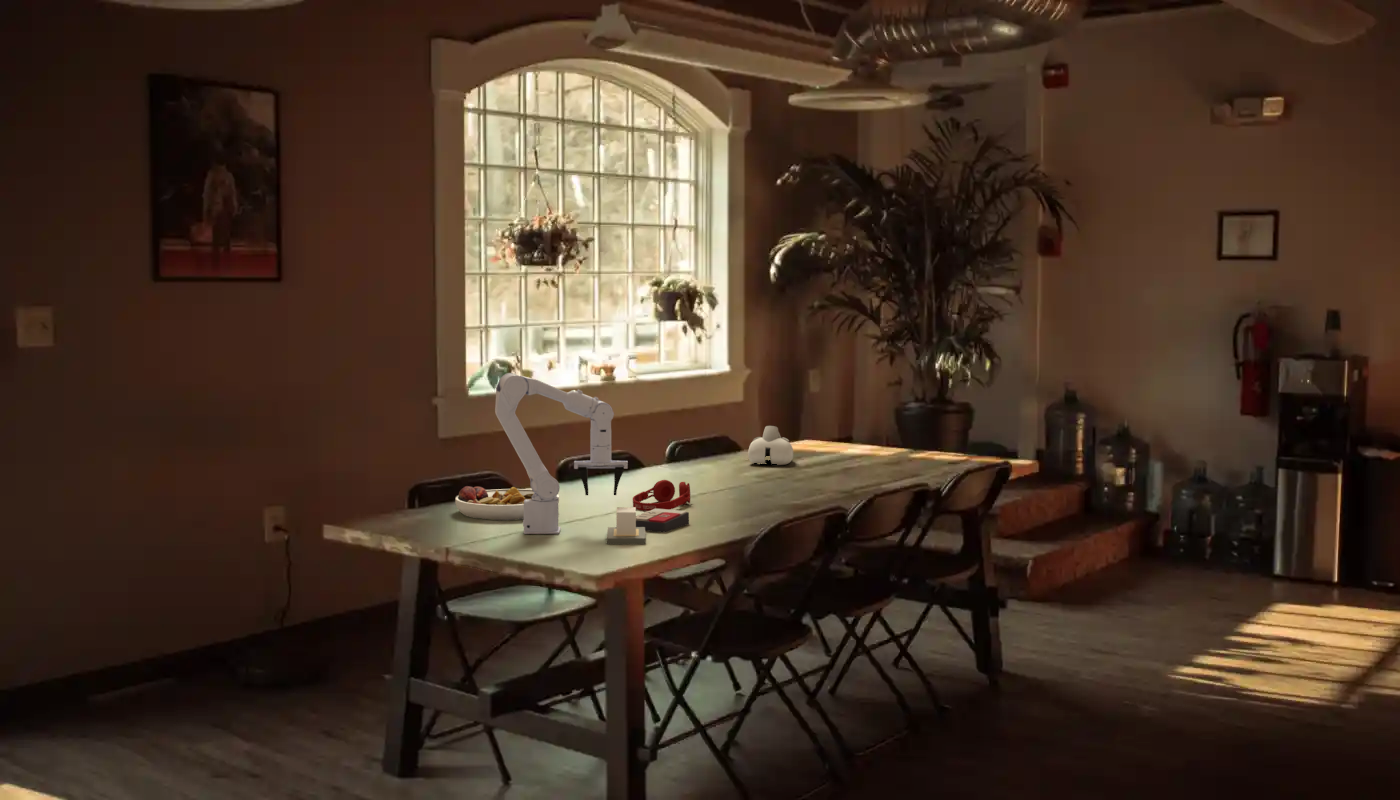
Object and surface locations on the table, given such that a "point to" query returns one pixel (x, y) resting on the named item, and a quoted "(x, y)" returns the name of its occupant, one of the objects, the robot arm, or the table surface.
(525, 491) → the bowl
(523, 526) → the robot arm
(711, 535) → the table surface
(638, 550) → the table surface
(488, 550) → the table surface
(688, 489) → the headphones
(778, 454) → the off-white rounded lobed piece
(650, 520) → the calculator
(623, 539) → the board
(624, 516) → the block
